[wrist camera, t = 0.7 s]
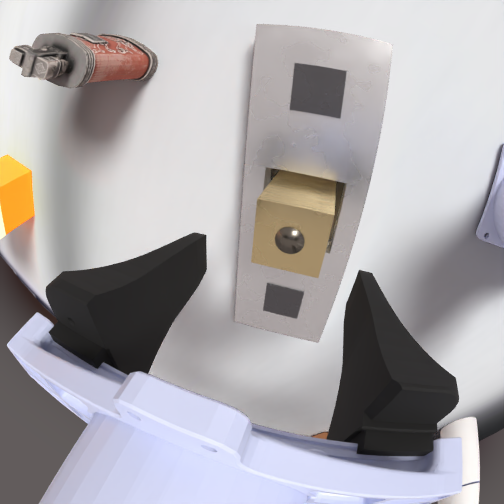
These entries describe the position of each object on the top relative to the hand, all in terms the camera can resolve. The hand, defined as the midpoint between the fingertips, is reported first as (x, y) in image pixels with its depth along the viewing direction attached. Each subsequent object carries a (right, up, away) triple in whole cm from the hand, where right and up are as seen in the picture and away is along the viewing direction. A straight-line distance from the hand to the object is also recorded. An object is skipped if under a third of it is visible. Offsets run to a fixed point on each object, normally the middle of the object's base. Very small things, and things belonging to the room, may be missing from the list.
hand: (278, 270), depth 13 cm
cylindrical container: (+35, -29, +17) cm, 48 cm away
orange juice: (-36, +11, +17) cm, 41 cm away
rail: (+3, +4, +7) cm, 9 cm away
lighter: (-12, +17, +4) cm, 21 cm away
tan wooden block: (+3, +4, +7) cm, 9 cm away
